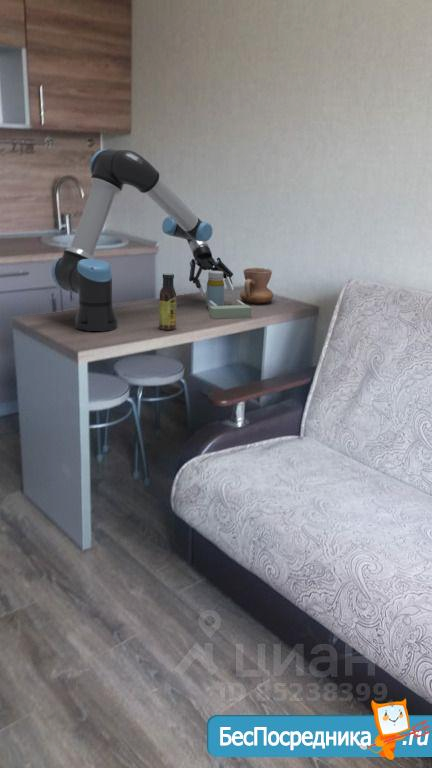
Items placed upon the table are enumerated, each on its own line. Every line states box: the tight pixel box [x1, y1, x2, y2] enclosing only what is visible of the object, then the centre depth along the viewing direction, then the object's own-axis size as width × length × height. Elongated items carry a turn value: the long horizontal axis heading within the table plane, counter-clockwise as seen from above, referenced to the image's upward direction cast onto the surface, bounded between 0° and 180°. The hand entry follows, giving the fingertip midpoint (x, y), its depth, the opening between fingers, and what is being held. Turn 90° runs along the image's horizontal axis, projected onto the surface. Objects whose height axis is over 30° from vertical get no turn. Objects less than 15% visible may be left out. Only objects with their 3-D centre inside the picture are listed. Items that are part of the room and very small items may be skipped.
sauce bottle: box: [158, 272, 178, 331], centre depth 217 cm, size 7×6×20 cm
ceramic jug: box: [239, 267, 274, 305], centre depth 263 cm, size 18×14×14 cm
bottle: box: [205, 270, 225, 309], centre depth 250 cm, size 7×7×15 cm
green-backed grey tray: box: [207, 299, 252, 320], centre depth 242 cm, size 16×13×4 cm
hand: (218, 292), depth 248 cm, fingers open, 13 cm apart
